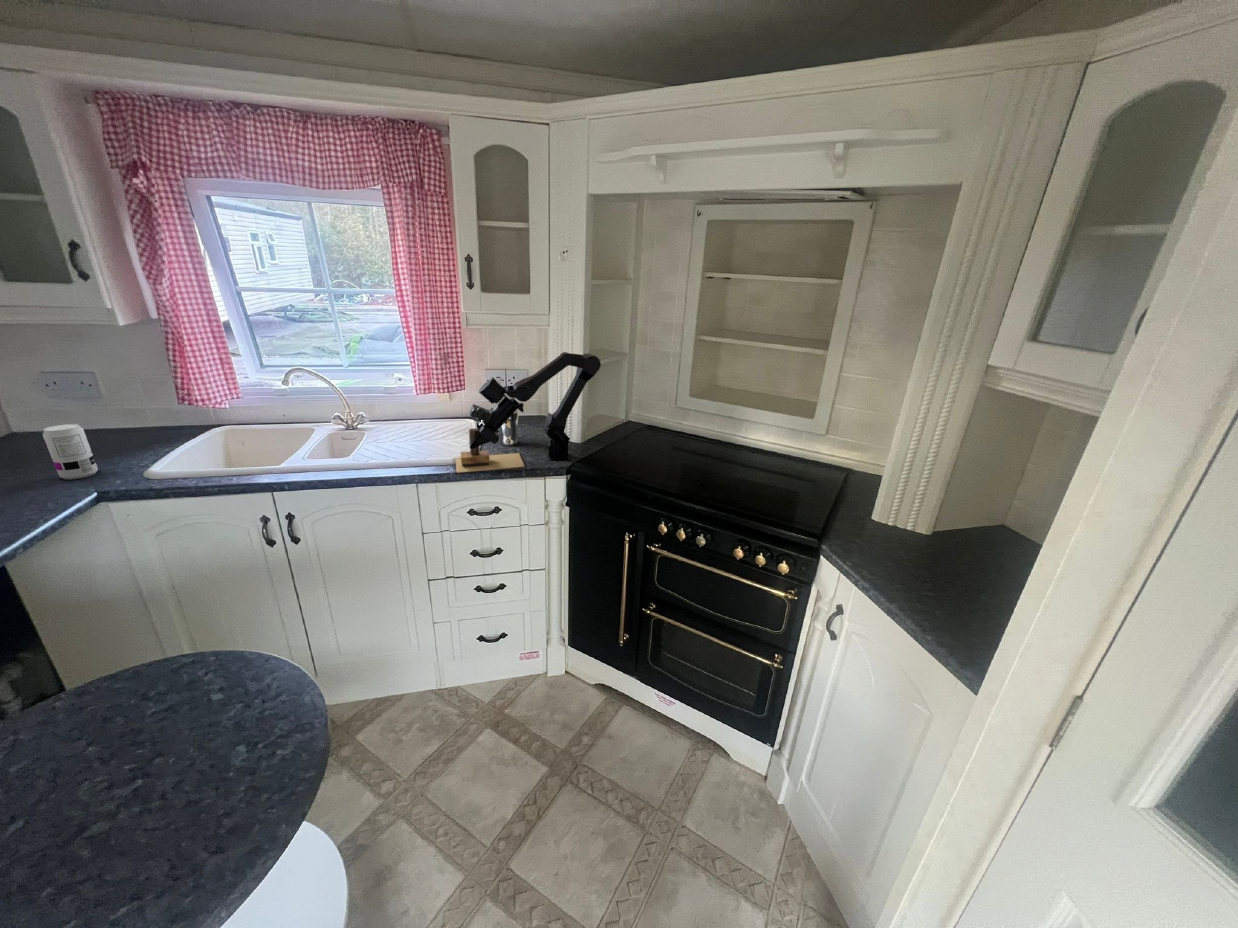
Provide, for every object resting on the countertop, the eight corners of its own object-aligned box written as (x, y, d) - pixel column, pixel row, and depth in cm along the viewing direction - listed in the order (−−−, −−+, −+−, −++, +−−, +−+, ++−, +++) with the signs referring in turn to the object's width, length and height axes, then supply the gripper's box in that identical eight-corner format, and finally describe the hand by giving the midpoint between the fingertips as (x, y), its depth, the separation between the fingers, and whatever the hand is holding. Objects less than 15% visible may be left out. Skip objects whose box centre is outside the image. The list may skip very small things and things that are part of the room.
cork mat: (518, 453, 179) (518, 452, 179) (524, 467, 167) (524, 466, 167) (455, 458, 172) (455, 457, 172) (456, 473, 160) (456, 472, 160)
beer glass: (521, 441, 193) (520, 403, 187) (516, 446, 186) (514, 408, 181) (504, 439, 193) (502, 402, 188) (498, 445, 187) (496, 406, 181)
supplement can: (51, 480, 144) (31, 431, 139) (75, 470, 152) (57, 423, 146) (83, 479, 145) (65, 431, 140) (106, 469, 153) (89, 423, 148)
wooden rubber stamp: (488, 459, 172) (486, 426, 167) (489, 465, 166) (488, 431, 162) (460, 460, 169) (458, 427, 165) (461, 467, 163) (459, 432, 159)
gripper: (481, 390, 169) (450, 423, 169) (485, 403, 152) (451, 439, 153) (505, 411, 174) (475, 443, 175) (512, 426, 158) (479, 461, 158)
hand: (470, 446), depth 165 cm, fingers closed on wooden rubber stamp, 3 cm apart
